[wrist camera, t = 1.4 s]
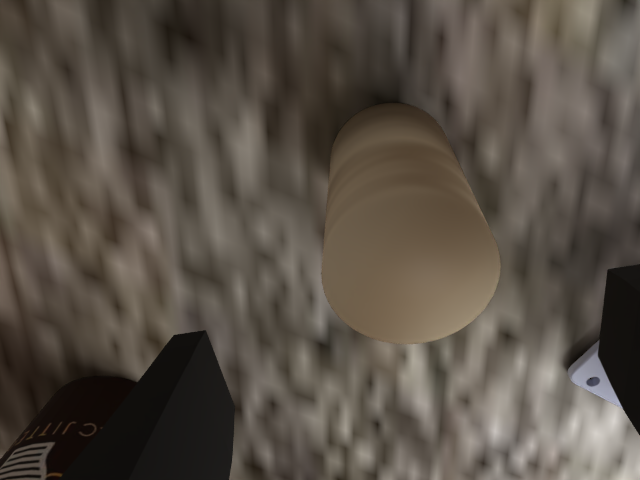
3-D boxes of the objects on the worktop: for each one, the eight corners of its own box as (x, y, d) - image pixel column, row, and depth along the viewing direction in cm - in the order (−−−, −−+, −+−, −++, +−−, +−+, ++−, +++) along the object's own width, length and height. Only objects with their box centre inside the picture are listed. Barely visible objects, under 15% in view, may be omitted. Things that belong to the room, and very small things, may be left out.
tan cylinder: (474, 141, 18) (539, 250, 12) (405, 233, 20) (430, 367, 14) (371, 79, 17) (383, 161, 11) (309, 180, 19) (290, 299, 13)
